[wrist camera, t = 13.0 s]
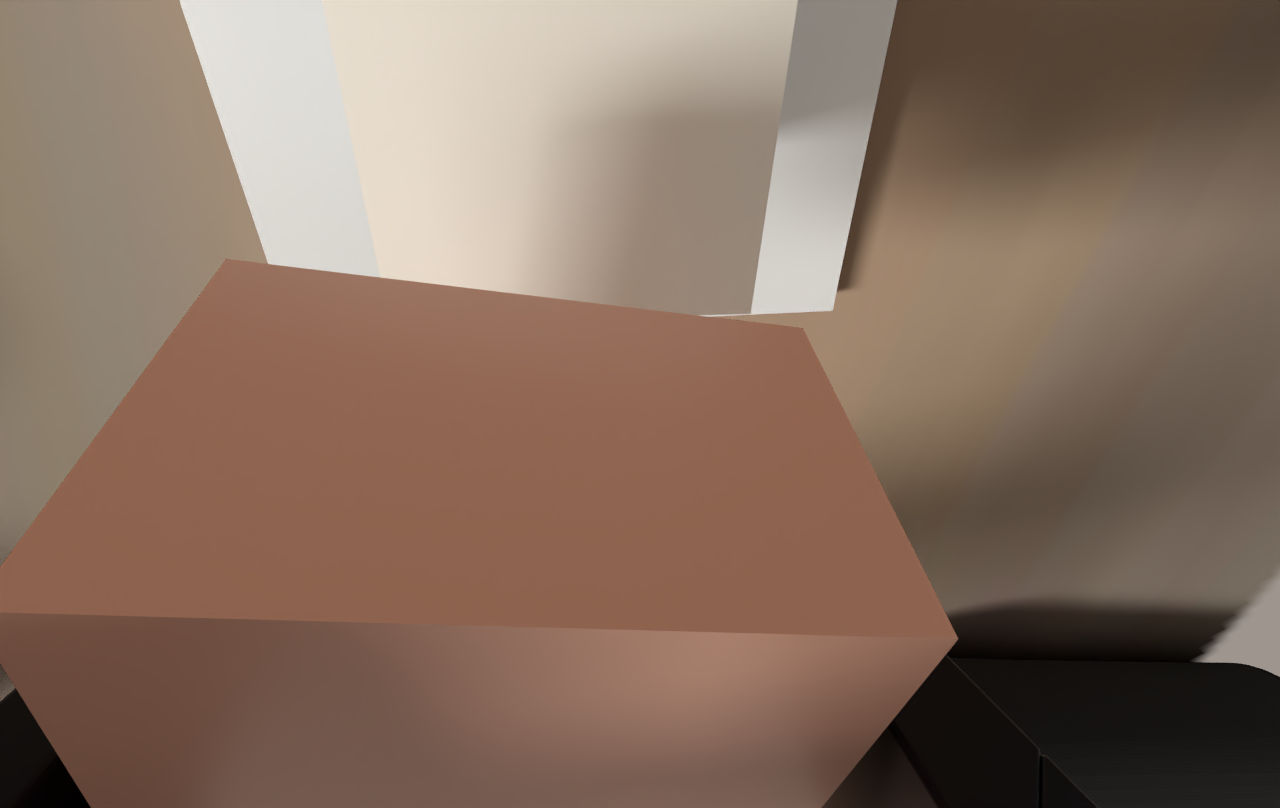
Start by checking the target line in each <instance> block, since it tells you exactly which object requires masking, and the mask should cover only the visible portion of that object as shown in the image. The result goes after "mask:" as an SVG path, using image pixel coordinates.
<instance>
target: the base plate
mask: <svg viewBox="0 0 1280 808" xmlns="http://www.w3.org/2000/svg"><path fill="white" fill-rule="evenodd" d="M179 1H180V4H181V7H182V10H183V13H184V15H185V18H186V21H187V24H188V27H189V30H190V33H191V36H192V39H193V42H194V45H195V48H196V51H197V54H198V57H199V60H200V63H201V66H202V69H203V72H204V75H205V78H206V81H207V84H208V87H209V89H210V92H211V95H212V98H213V101H214V104H215V107H216V110H217V113H218V116H219V119H220V122H221V125H222V128H223V131H224V134H225V137H226V140H227V143H228V146H229V149H230V152H231V155H232V158H233V161H234V164H235V166H236V169H237V172H238V175H239V178H240V181H241V184H242V187H243V190H244V193H245V196H246V199H247V202H248V205H249V208H250V211H251V214H252V217H253V220H254V223H255V226H256V229H257V232H258V235H259V238H260V241H261V243H262V246H263V249H264V252H265V255H266V258H267V261H268V264H272V265H280V266H289V267H297V268H305V269H314V270H322V271H330V272H339V273H347V274H355V275H364V276H372V277H380V275H379V270H378V265H377V260H376V256H375V251H374V246H373V241H372V237H371V232H370V227H369V222H368V218H367V213H366V208H365V203H364V199H363V194H362V189H361V184H360V180H359V175H358V170H357V165H356V161H355V156H354V151H353V146H352V142H351V137H350V132H349V127H348V123H347V118H346V113H345V108H344V104H343V99H342V94H341V89H340V85H339V80H338V75H337V70H336V66H335V61H334V56H333V51H332V47H331V42H330V37H329V32H328V28H327V23H326V18H325V13H324V9H323V4H322V0H179ZM896 5H897V0H798V3H797V10H796V17H795V23H794V30H793V36H792V43H791V50H790V56H789V63H788V70H787V76H786V83H785V89H784V96H783V103H782V109H781V116H780V123H779V129H778V136H777V142H776V149H775V156H774V162H773V169H772V176H771V182H770V189H769V195H768V202H767V209H766V215H765V222H764V229H763V235H762V242H761V248H760V255H759V262H758V268H757V275H756V281H755V288H754V295H753V301H752V308H751V314H728V315H698V316H706V317H710V316H731V315H752V314H773V313H794V312H815V311H833V306H834V301H835V296H836V292H837V287H838V282H839V277H840V272H841V268H842V263H843V258H844V253H845V249H846V244H847V239H848V234H849V229H850V225H851V220H852V215H853V210H854V206H855V201H856V196H857V191H858V187H859V182H860V177H861V172H862V167H863V163H864V158H865V153H866V148H867V144H868V139H869V134H870V129H871V124H872V120H873V115H874V110H875V105H876V101H877V96H878V91H879V86H880V81H881V77H882V72H883V67H884V62H885V58H886V53H887V48H888V43H889V38H890V34H891V29H892V24H893V19H894V15H895V10H896Z"/></svg>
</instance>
